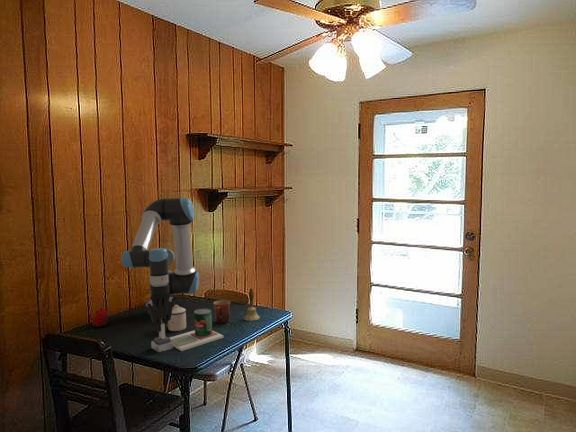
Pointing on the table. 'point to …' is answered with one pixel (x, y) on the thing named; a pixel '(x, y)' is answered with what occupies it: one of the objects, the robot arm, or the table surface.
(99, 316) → the red clay folk toy
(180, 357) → the table surface
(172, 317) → the teacup with lid
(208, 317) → the canned tomato
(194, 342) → the picture board
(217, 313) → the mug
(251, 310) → the hand bell
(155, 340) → the button
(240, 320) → the table surface
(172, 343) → the button base
